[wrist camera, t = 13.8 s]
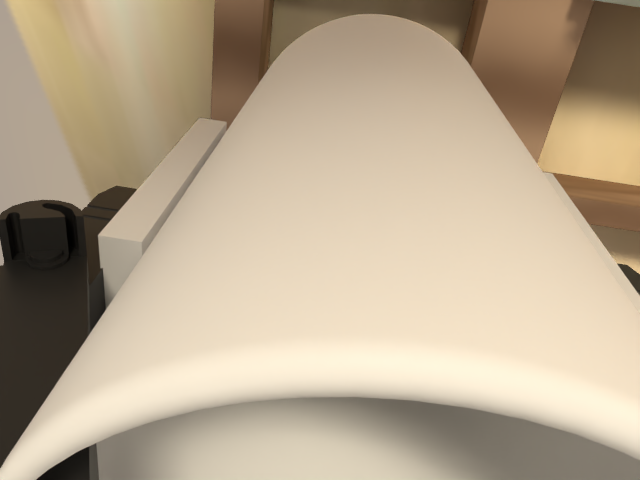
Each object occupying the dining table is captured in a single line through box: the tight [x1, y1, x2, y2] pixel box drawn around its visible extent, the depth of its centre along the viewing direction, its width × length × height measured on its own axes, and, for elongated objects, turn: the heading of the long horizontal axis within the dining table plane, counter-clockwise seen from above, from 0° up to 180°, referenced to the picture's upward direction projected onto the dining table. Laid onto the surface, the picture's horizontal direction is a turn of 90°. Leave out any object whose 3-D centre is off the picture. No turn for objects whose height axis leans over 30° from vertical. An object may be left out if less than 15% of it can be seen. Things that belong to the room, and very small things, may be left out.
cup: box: [0, 14, 640, 480], centre depth 13 cm, size 8×8×16 cm
